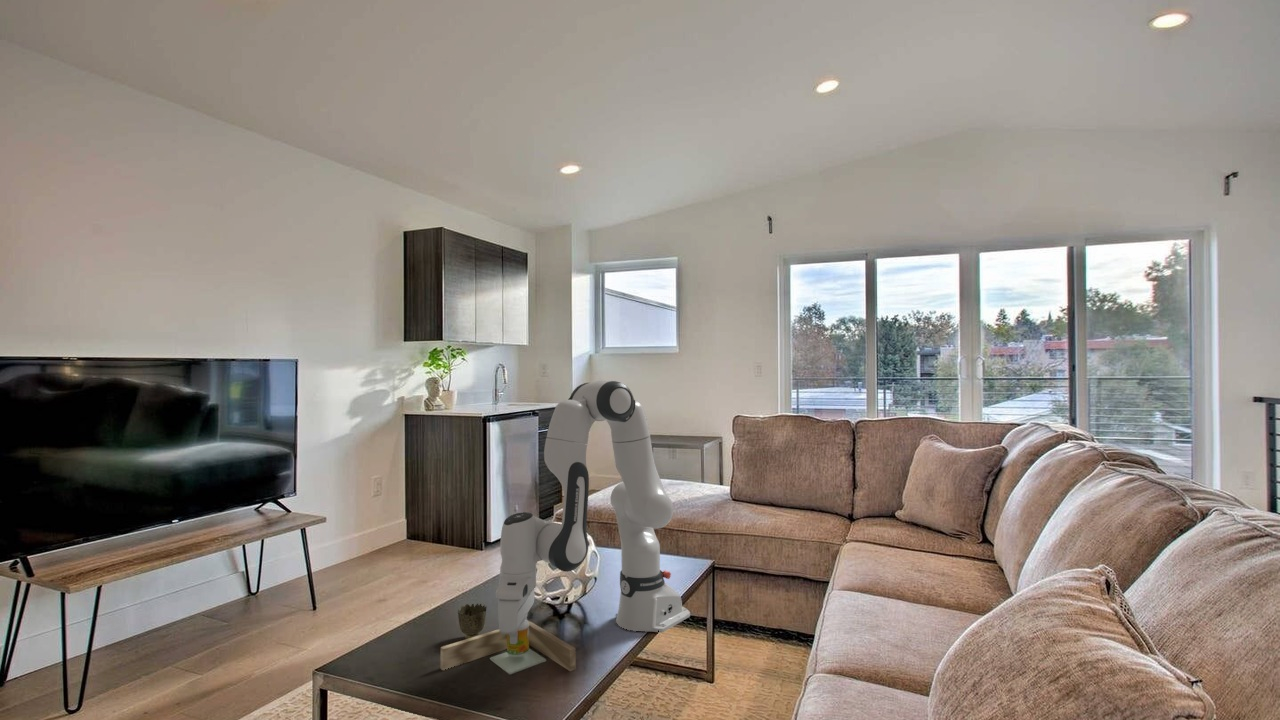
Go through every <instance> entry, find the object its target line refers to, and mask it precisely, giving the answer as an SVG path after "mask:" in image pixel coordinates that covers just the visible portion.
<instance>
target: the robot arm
mask: <svg viewBox="0 0 1280 720" xmlns="http://www.w3.org/2000/svg"><path fill="white" fill-rule="evenodd" d="M596 421H597V422H603V421H606V423H608V425H609V428H610V433H611V442H612V449H613V450H612V451H613V457H614V464H615V468H616V470H617V472H618V474H619V475H620V477H621V479H622V482H620V483H618V484H617V485H615V487H614V488H613V489H612V492H610V493H611V494H610V505H611V506H612V509H613V511H614V514H615V517H616V522H617V529H618V533H619V537H620V547H621V548H620V549H621V551H620V552H621V570H620V572H619V573H620V574H619V585H620V586H619V587H620V595H619V605H618V609H617V614H616V618H615V624H616V623H617V624H618V625H619V626H620V627H619V626H618V625H617V624H616V625H617V626H618V627H619V628H621V627H622V628H621V629H623V628H624V629H623V630H626V629H627V630H626V631H630V630H633V631H632V632H636V631H645V632H648V633H649V632H651V633H652V632H654V633H664V632H666V631H668V630H670V629H671V628H673V627H675V626H676V625H678V624H680V623H681V622H683V621H684V620H686V619H688V618H689V617H691V611H690V610H688V609H687V608H686V607H684V606H683V602H682V597H681V595H680V593H679V592H678V591H676V589H674V587H673V588H672V587H671V586H670V585H668V584H667V583H666V582H665V579H667V580H669V579H671V577H672V573H671V572H670V571H668V570H661V549H660V548H661V547H660V546H661V545H660V541H659V539H658V537H657V536H656V533H655V530H657V529H661V528H664V527H666V526H667V525H668V524H669V523H670V521H671V520H672V519H673V515H674V504H673V501H672V500H671V498H670V496H669V495H668V494H667V492H666V490H665V487H664V485H663V482H662V481H661V478H660V475H659V472H658V469H657V467H656V462H655V460H654V459H655V457H654V451H653V446H652V440H651V433H650V427H649V422H648V419H647V416H646V413H645V410H644V407H643V405H642V404H641V403H640V402H639V401H637V400H635V399H634V395H633V393H632V391H631V389H630V388H629V387H628V385H626V384H624V383H622V382H620V381H618V380H617V381H616V380H610V381H609V380H597V381H593V382H585V383H582V384H580V385H578V386H576V387H575V389H574V390H573V391H572V393H571V394H570V397H569V398H568V399H565V400H561V401H560V402H559V403H557V404H556V406H555V408H554V411H553V414H552V415H551V419H550V421H549V426H548V430H547V432H546V433H547V434H546V438H545V442H544V447H543V448H544V449H543V450H544V451H543V452H544V453H543V458H544V463H545V465H546V467H547V469H548V470H549V472H551V473H552V474H553V475H554V476H555V477H556V479H558V482H560V485H561V487H562V490H563V502H562V503H563V505H562V518H561V524H560V523H556V522H553V521H549V520H546V519H545V520H544V519H542V518H540V517H537V516H535V515H534V514H533V513H532V512H528V511H527V512H525V511H524V512H517V513H513V514H511V515H509V516H508V517H507V518H505V520H504V521H503V524H502V526H501V532H500V533H501V534H500V545H499V547H500V550H499V551H500V556H501V564H500V568H499V570H500V571H499V581H498V585H497V588H496V590H495V599H496V600H498V601H497V602H498V603H497V624H498V629H499V631H500V633H501V634H509V637H510V644H517V642H518V640H519V639H518V637H519V634H518V632H517V630H518V627H519V625H520V624H521V622H522V621H523V619H524V615H525V613H526V620H528V618H527V617H528V613H529V611H530V610H531V608H532V607H533V605H534V602H535V598H536V597H535V589H536V587H537V564H538V562H542V561H543V562H545V563H548V564H550V565H552V567H554V568H556V569H558V570H560V571H561V572H572V571H574V570H576V569H578V568H579V567H580V566H581V565H582V564H583V562H584V561H585V559H586V557H587V555H588V553H589V539H588V532H587V523H588V522H587V520H588V507H589V506H588V503H589V492H590V491H589V490H590V489H589V486H590V475H589V471H588V468H587V449H588V441H589V434H590V431H591V428H592V426H593V424H594V423H595V422H596ZM664 578H665V579H664ZM658 630H659V632H658Z"/></svg>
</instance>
